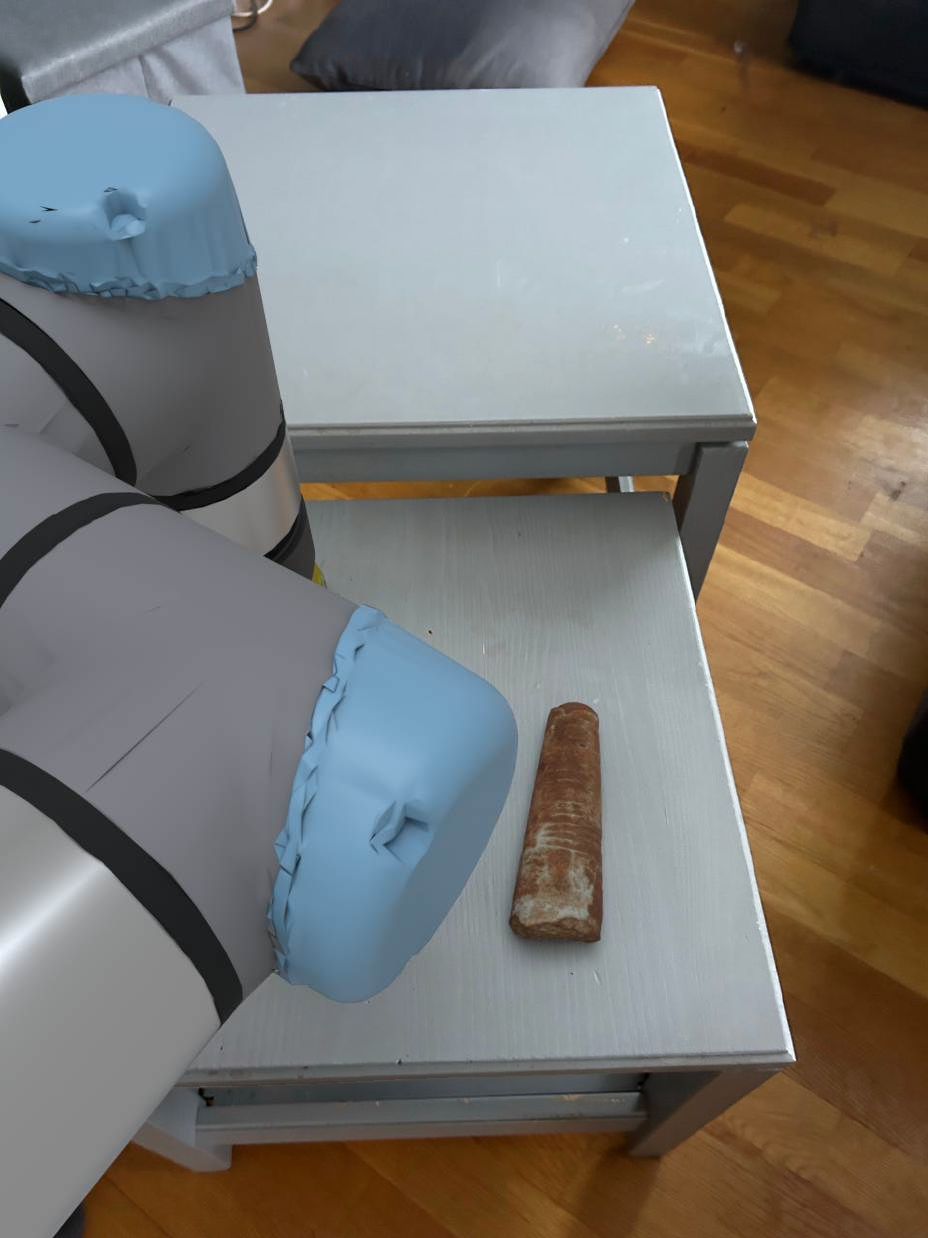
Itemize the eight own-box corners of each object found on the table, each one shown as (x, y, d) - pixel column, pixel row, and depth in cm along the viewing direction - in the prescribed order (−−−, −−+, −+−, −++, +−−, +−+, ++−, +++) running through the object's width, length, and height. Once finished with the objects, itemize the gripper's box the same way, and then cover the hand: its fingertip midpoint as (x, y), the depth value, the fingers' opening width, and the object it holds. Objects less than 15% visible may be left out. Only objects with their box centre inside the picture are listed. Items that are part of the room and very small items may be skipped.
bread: (505, 947, 66) (507, 923, 62) (542, 712, 77) (546, 677, 72) (594, 964, 66) (603, 941, 61) (619, 724, 76) (628, 689, 72)
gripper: (522, 583, 36) (505, 807, 54) (65, 351, 44) (180, 612, 62) (409, 729, 33) (430, 918, 50) (-66, 448, 41) (95, 696, 58)
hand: (292, 750), depth 56 cm, fingers open, 13 cm apart
